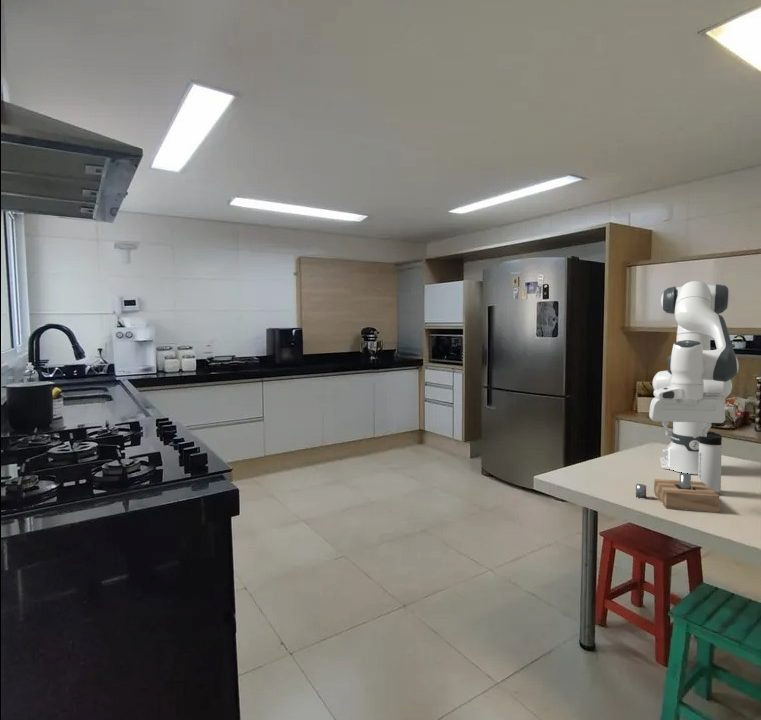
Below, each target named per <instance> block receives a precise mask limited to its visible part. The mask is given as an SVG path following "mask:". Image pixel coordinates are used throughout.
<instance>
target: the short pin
mask: <svg viewBox="0 0 761 720" xmlns="http://www.w3.org/2000/svg"><path fill="white" fill-rule="evenodd" d="M637 497H638V498H637ZM635 498H637V499H640V498H646V499H647V485H646V484H643V483H636V485H635Z"/></svg>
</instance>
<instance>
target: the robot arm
mask: <svg viewBox="0 0 761 720" xmlns="http://www.w3.org/2000/svg"><path fill="white" fill-rule="evenodd" d="M731 300H732V294H731V292H730V290H729V287H728V286H727V285H724V284H719V283H718V284H717V283H716V284H706V283H705V282H703V281H699V280H692V281H688V282H686V283H685V284H683V285H682V286H677V287H676V286H671V287H667V288H666V289H664V291H663V293H662V295H661V297H660V304H661V307H662V310H663V312H664V313H666V314H671V315H674V319H675V322H676V323H677V329H676V342H674V343H673V345H672V350H671V354H670V355H669V356H667V370H661V371H658V372H656V373H655V375H654V376H653V379H652V389H653V392H652V393H653V396H654V397H653V398H652V399H651V401H650V405H649V411H648V413H649V414H648V416H649V419H650V420H652V421H653V422H661V424H662V426H663V428H664V429H665V435H666V436H669V437H671V438H670V443H668V445H667V446H666V448H665V449H664V448H663V449H662V451H661V453H662V455H663V456H660V457H659V462H661V463H660V466H661V468H662V469H664V470H669V469H670V470H671V471H673V470H674V472H678V473H681V472H682V473H686V474H687V473H688V474H690V475H698V469H699V434H700V436H701V437H707V432H709V430H710V429H711V427H712V424H722V423H724V422H725V421H726V412H725V411H726V410H725V405H726V398H727V397H728V396H729V395H730V394H731V392H732V389H733V382H732V379H734V378H735V377H736V376H737V375H738V373H739V369H740V368H739V367H740V364H739V359H738V358H737V355H736V353H735V351H734V348H733V344H732V340H731V337H730V333H729V329H728V326H727V323H726V320H725V318H724V317H723V315H721V314H722V313H724V312H725V311H726V310H727V309H728V308H729V306H730V304H731V302H732V301H731ZM711 338H712V339H714V340H713V341H714V343H715V347H716V349H711ZM670 422H671V423H672V429H670V428H669V427H668V426H669V424H670Z"/></svg>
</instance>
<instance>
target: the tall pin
mask: <svg viewBox="0 0 761 720" xmlns="http://www.w3.org/2000/svg"><path fill="white" fill-rule="evenodd" d="M691 475H692V474H687V473H681V472H679V480H680V482H679V489H687V490H691V481H692V476H691Z"/></svg>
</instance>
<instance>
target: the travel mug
mask: <svg viewBox="0 0 761 720" xmlns="http://www.w3.org/2000/svg"><path fill="white" fill-rule="evenodd" d="M722 437H723V436H722V435H721V434H719V433H716V432H715V431H707V437H701V436H700V434H699V469H698V474H697V476H698V479H697V480H698V481H697V482H703V483H704V484H705V485H707V486H708V487H709V488H710V489H711V490H713V491H714V492H715V493H716V494H717V495H719V496H720V495H721V492H722V490H721V487H722V486H721V485H722V481H721V480H722V451H723V450H722V449H723V448H722V445H723V443H722V439H723V438H722Z"/></svg>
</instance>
